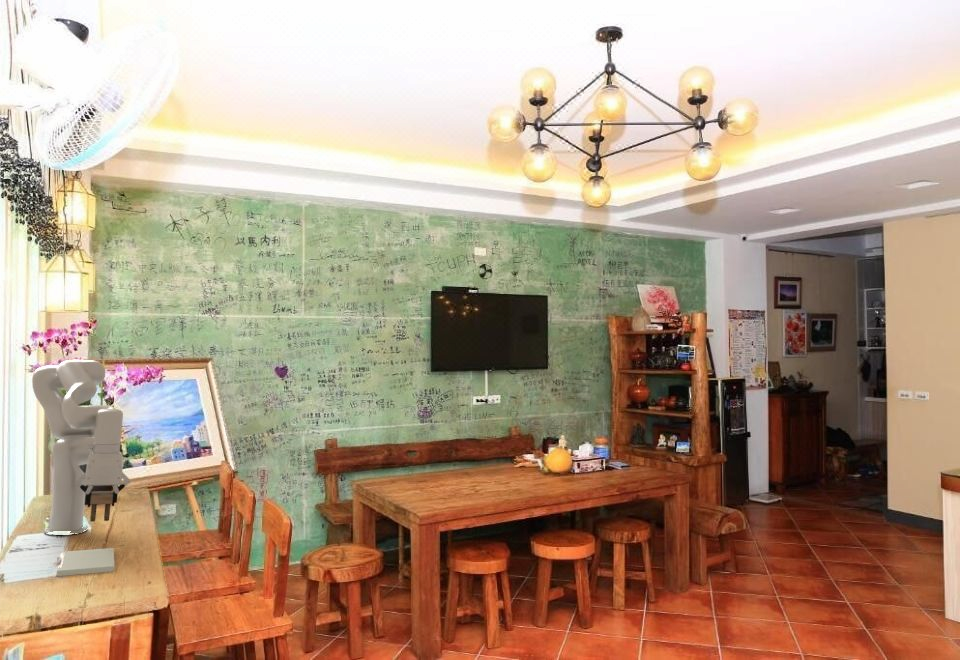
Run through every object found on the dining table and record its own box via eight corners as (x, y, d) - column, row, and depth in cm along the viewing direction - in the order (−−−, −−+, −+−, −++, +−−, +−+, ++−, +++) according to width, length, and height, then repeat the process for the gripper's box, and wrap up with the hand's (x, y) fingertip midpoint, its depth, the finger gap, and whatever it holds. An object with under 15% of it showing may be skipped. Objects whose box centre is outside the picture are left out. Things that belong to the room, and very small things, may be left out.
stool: (88, 516, 216) (91, 491, 216) (110, 515, 219) (112, 490, 219) (88, 522, 211) (91, 496, 211) (110, 521, 214) (112, 495, 214)
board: (60, 556, 203) (60, 551, 203) (113, 552, 210) (113, 547, 210) (56, 576, 188) (56, 570, 188) (114, 571, 194) (114, 566, 194)
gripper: (74, 450, 208) (68, 509, 208) (137, 450, 216) (132, 507, 216) (75, 446, 214) (69, 503, 214) (136, 446, 223) (131, 501, 223)
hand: (101, 505), depth 215 cm, fingers closed on stool, 6 cm apart
